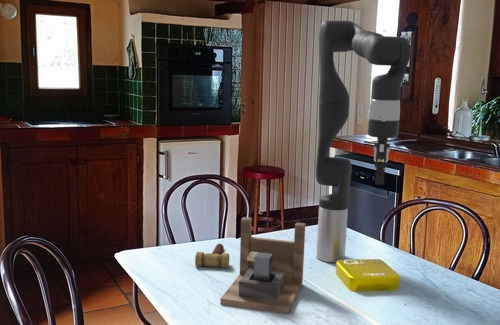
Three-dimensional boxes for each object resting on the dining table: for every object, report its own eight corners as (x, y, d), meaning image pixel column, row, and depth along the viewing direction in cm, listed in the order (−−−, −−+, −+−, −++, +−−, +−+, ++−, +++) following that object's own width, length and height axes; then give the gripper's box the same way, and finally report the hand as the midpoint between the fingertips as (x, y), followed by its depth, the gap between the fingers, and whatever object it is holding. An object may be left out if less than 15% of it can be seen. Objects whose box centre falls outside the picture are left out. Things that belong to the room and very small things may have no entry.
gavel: (206, 237, 182) (235, 239, 181) (206, 250, 183) (235, 252, 182) (195, 253, 161) (227, 255, 161) (194, 268, 162) (227, 270, 161)
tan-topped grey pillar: (249, 286, 145) (251, 251, 143) (271, 289, 144) (272, 253, 142) (245, 292, 141) (247, 256, 140) (267, 295, 140) (269, 258, 138)
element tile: (350, 293, 148) (351, 276, 147) (333, 273, 162) (334, 258, 161) (401, 291, 150) (402, 275, 149) (380, 271, 164) (381, 256, 164)
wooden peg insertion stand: (241, 276, 156) (243, 216, 153) (302, 284, 152) (305, 223, 149) (220, 303, 137) (221, 236, 134) (288, 314, 133) (292, 244, 130)
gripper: (369, 114, 141) (365, 174, 144) (367, 119, 128) (363, 185, 131) (399, 116, 140) (394, 176, 142) (400, 121, 126) (394, 187, 129)
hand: (379, 180), depth 137 cm, fingers open, 8 cm apart
